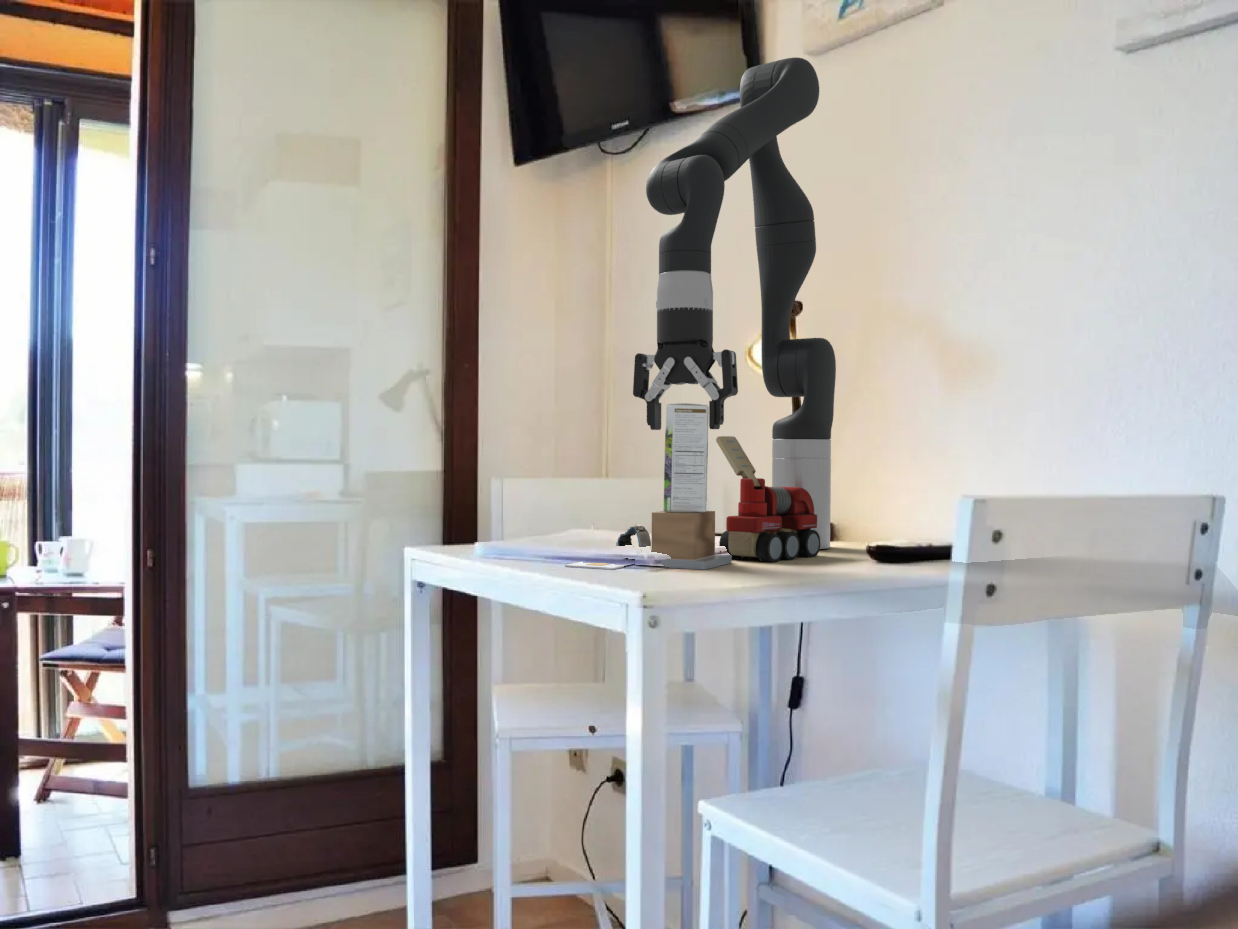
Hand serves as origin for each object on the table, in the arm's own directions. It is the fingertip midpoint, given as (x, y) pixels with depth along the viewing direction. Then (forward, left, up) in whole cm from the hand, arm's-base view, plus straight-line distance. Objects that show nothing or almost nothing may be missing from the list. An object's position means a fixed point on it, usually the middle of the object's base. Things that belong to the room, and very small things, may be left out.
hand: (684, 429), depth 141 cm
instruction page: (+6, -9, -18) cm, 21 cm away
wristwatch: (-3, -9, -18) cm, 21 cm away
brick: (0, 0, -17) cm, 17 cm away
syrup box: (0, 0, -11) cm, 11 cm away
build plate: (0, 0, -18) cm, 18 cm away
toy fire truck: (-15, +6, -19) cm, 25 cm away
